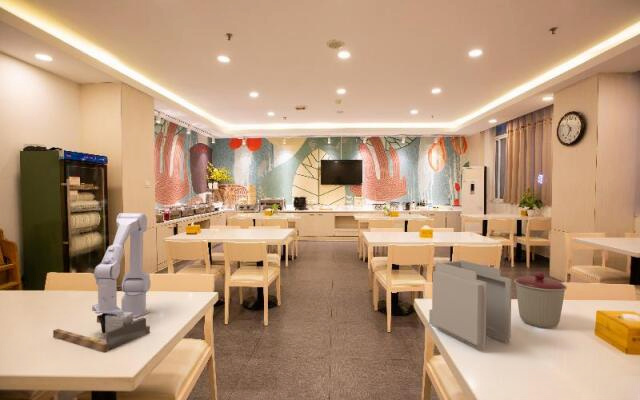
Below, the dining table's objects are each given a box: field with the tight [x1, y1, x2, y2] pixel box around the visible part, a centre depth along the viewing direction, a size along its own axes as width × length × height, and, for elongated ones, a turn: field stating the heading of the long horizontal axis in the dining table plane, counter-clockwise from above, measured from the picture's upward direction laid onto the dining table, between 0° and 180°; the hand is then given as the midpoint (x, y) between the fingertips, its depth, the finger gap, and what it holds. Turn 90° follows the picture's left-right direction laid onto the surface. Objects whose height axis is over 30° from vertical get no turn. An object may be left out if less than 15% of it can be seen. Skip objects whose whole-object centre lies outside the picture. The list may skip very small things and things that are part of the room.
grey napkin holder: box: [428, 259, 513, 350], centre depth 125 cm, size 17×27×26 cm, turn 25°
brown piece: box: [52, 315, 151, 353], centre depth 122 cm, size 28×17×7 cm, turn 67°
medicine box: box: [104, 312, 134, 340], centre depth 120 cm, size 8×4×9 cm, turn 84°
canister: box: [513, 271, 568, 329], centre depth 136 cm, size 18×18×21 cm
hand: (107, 332), depth 121 cm, fingers closed, pressing on medicine box
